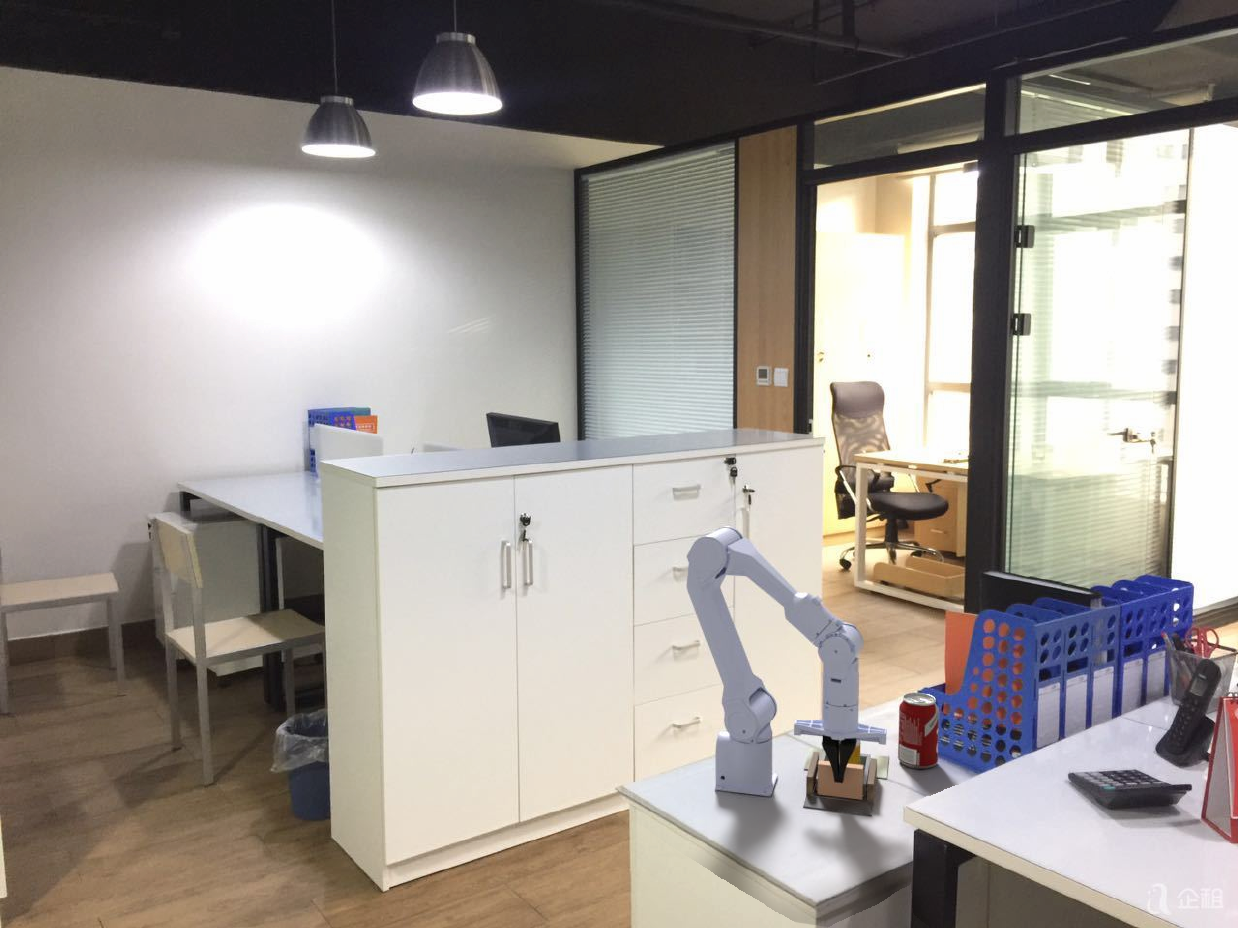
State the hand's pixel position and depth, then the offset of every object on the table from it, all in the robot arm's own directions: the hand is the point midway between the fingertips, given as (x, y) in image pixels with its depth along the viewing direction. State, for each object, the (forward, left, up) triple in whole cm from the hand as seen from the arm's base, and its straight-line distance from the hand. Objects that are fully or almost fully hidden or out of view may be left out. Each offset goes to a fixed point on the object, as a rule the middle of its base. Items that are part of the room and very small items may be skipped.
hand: (839, 779), depth 166 cm
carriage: (0, +8, -4) cm, 9 cm away
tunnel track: (0, +8, -4) cm, 9 cm away
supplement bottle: (0, +10, -4) cm, 10 cm away
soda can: (+12, +19, -4) cm, 23 cm away
